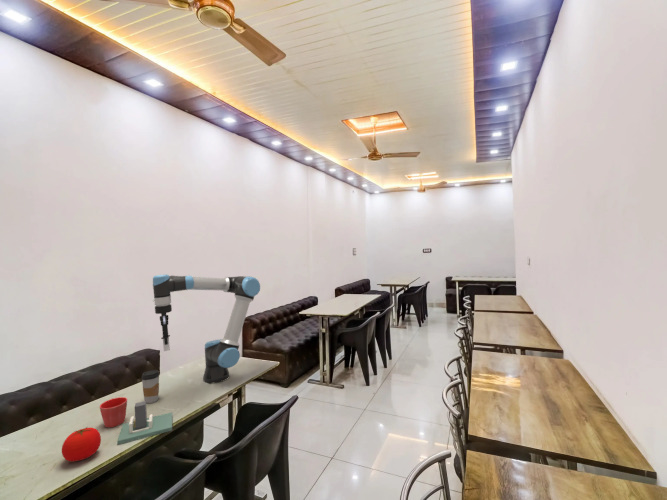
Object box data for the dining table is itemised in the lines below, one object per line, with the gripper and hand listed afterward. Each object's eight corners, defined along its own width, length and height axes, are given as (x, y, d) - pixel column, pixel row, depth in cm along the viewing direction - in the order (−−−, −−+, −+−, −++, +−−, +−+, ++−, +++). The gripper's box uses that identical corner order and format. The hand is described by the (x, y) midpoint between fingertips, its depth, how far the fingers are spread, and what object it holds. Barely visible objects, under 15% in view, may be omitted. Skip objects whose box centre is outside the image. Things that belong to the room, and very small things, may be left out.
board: (172, 415, 153) (171, 403, 153) (172, 430, 140) (171, 417, 140) (122, 427, 145) (122, 415, 144) (117, 444, 131) (116, 431, 131)
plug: (147, 423, 144) (146, 400, 144) (146, 427, 140) (145, 404, 140) (135, 426, 142) (134, 403, 142) (134, 430, 138) (132, 407, 138)
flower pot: (98, 432, 141) (97, 410, 141) (102, 421, 151) (101, 400, 151) (126, 425, 146) (125, 404, 146) (129, 414, 156) (128, 394, 156)
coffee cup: (152, 405, 165) (151, 376, 165) (138, 404, 167) (137, 375, 167) (164, 397, 173) (162, 369, 173) (150, 396, 175) (149, 369, 175)
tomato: (99, 444, 132) (98, 418, 132) (103, 457, 123) (101, 430, 123) (62, 457, 124) (60, 430, 124) (62, 472, 116) (61, 443, 116)
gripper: (154, 304, 168) (158, 348, 169) (154, 307, 157) (158, 355, 158) (170, 302, 172) (174, 345, 173) (171, 305, 161) (175, 352, 161)
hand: (166, 350), depth 165 cm, fingers closed
